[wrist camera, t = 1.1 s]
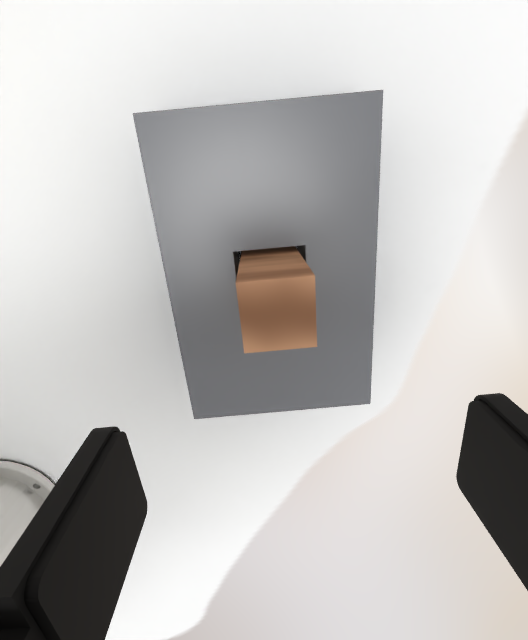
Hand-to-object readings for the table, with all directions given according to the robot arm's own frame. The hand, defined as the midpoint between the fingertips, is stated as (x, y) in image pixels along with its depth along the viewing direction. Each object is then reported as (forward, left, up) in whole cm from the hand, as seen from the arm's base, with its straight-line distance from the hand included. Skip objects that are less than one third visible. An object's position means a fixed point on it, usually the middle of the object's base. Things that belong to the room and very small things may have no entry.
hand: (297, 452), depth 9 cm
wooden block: (0, 0, -24) cm, 24 cm away
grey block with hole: (0, 0, -24) cm, 24 cm away
